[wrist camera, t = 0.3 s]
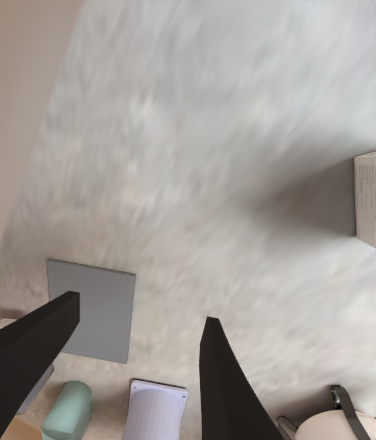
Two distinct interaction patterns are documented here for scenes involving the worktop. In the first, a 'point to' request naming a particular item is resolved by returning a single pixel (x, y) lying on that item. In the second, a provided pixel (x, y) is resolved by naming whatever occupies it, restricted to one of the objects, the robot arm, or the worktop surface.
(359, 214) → the ink box
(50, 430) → the teal plug
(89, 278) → the mat
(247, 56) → the worktop surface
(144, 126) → the worktop surface
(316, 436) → the coffee press
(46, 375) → the plug
